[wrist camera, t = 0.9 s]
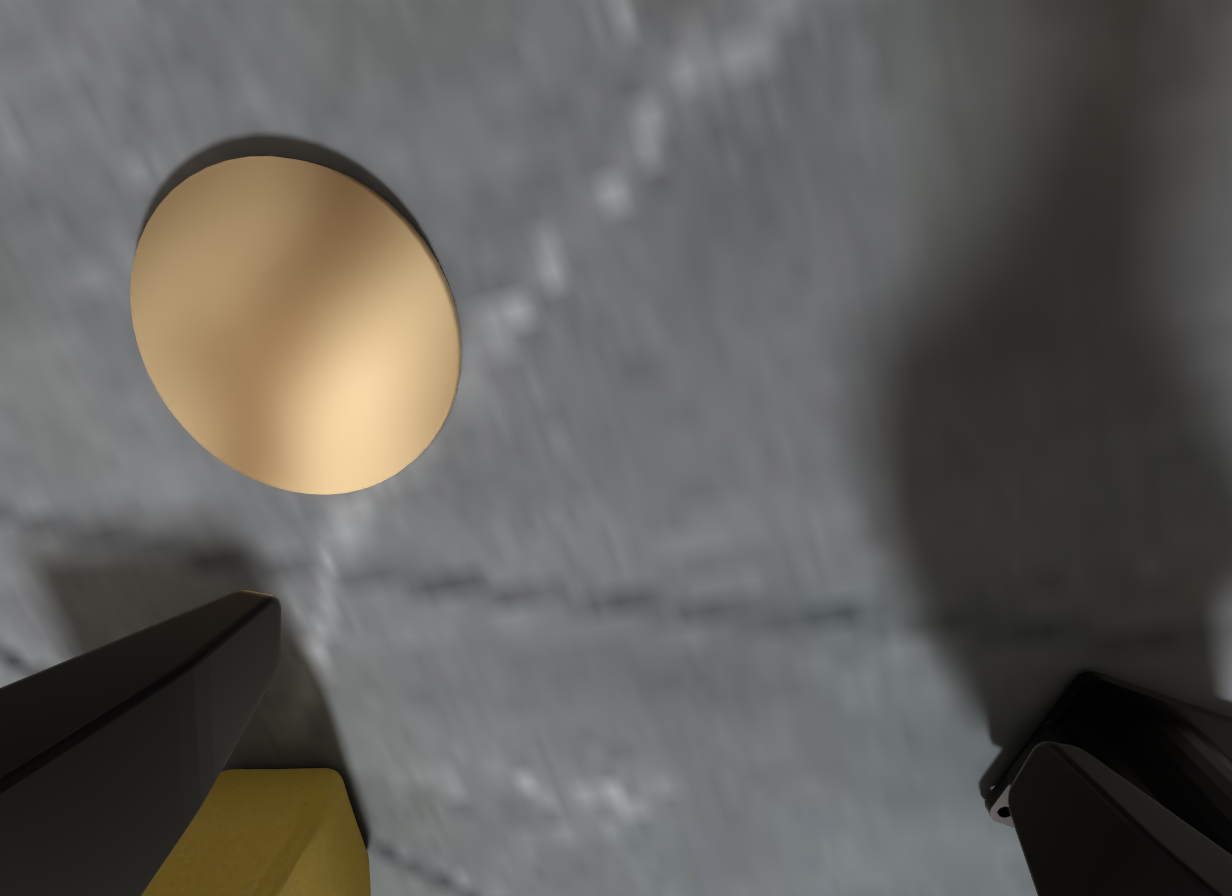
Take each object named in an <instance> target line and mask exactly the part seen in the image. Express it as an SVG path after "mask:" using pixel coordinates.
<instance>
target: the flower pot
mask: <svg viewBox="0 0 1232 896" xmlns="http://www.w3.org/2000/svg"><path fill="white" fill-rule="evenodd" d="M142 896H371V891H370V873H369V858H368V853H367V851H366V848H365V845H364V842H363V839H362V836H361V833H360V830H359V828H358V825H357V822H356V819H355V816H354V813H353V810H352V807H351V804H350V801H349V798H348V795H347V791H346V789H345V785H344V782H343V779H342V777H341V776H340V774H339V773H338V772H337V771H335V770H333V769H329V768H310V769H230V770H226V771H223V772H221V773H220V775H219V777H218V779H217V780H216V782H215V784H214V786H213V788H212V789H211V791H210V793H209V794H208V796H207V798H206V800H205V801H204V803H203V805H202V807H201V808H200V810H199V811H198V813H197V814H196V816H195V817H194V819H193V820H192V822H191V823H190V825H189V827H188V828H187V830H186V831H185V833H184V834H183V836H182V837H181V838H180V840H179V841H178V843H177V844H176V846H175V847H174V849H173V850H172V852H171V853H170V855H169V856H168V857H167V859H166V860H165V862H164V863H163V865H162V866H161V868H160V869H159V871H158V872H157V874H156V875H155V877H154V878H153V879H152V881H151V882H150V884H149V885H148V887H147V888H146V890H145V891H144V893H143V894H142Z"/></svg>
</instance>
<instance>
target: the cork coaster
mask: <svg viewBox="0 0 1232 896" xmlns="http://www.w3.org/2000/svg"><path fill="white" fill-rule="evenodd" d="M131 312H132V320H133V327H134V331H135V335H136V339H137V343H138V347H139V350H140V353H141V356H142V359H143V361H144V364H145V367H146V369H147V371H148V373H149V375H150V377H151V379H152V381H153V383H154V385H155V387H156V389H157V391H158V393H159V394H160V396H161V397H162V399H163V400H164V402H165V404H166V405H167V407H168V408H169V410H170V411H171V412H172V413H173V415H174V416H175V417H176V418H177V420H178V421H179V422H180V424H181V425H182V426H183V427H184V428H185V429H186V430H187V431H188V432H189V433H190V434H191V435H192V436H193V437H194V438H195V439H196V441H198V442H199V443H200V444H201V445H202V446H203V447H205V448H206V449H207V450H208V451H209V452H210V453H212V454H213V455H214V456H216V457H217V458H218V459H220V460H221V461H223V462H224V463H226V464H227V465H229V466H230V467H232V468H233V469H235V470H237V471H239V472H241V473H243V474H245V475H246V476H248V477H250V478H253V479H255V480H257V481H260V482H262V483H265V484H267V485H270V486H274V487H277V488H281V489H284V490H288V491H293V492H300V493H306V494H326V495H327V494H338V493H347V492H352V491H356V490H360V489H364V488H367V487H370V486H372V485H375V484H377V483H380V482H382V481H384V480H386V479H387V478H389V477H391V476H393V475H395V474H396V473H398V472H399V471H400V470H402V469H403V468H404V467H406V466H407V465H408V464H409V463H411V462H412V461H413V460H414V459H416V458H417V457H418V456H419V455H420V454H421V453H422V452H423V451H424V450H425V449H426V448H427V447H428V446H429V444H430V443H431V442H432V441H433V440H434V438H435V437H436V435H437V434H438V433H439V431H440V430H441V428H442V427H443V425H444V423H445V421H446V419H447V417H448V415H449V413H450V411H451V408H452V405H453V402H454V399H455V396H456V393H457V390H458V384H459V379H460V373H461V360H462V344H461V331H460V324H459V320H458V315H457V310H456V305H455V302H454V299H453V296H452V293H451V290H450V288H449V285H448V282H447V280H446V278H445V276H444V274H443V272H442V270H441V267H440V265H439V263H438V261H437V260H436V258H435V257H434V255H433V253H432V252H431V250H430V249H429V247H428V245H427V244H426V242H425V241H424V239H423V238H422V237H421V236H420V234H419V233H418V232H417V231H416V230H415V228H414V227H413V226H412V225H411V223H410V222H409V221H408V220H407V219H406V218H405V217H404V216H403V215H402V214H401V213H400V212H399V211H398V210H397V209H396V208H395V207H394V206H393V205H392V204H390V203H389V202H388V201H386V200H385V199H384V198H383V197H381V196H380V195H379V194H377V193H376V192H375V191H374V190H372V189H370V188H369V187H367V186H365V185H364V184H362V183H360V182H359V181H357V180H355V179H354V178H352V177H350V176H347V175H345V174H343V173H340V172H338V171H336V170H333V169H331V168H328V167H325V166H321V165H318V164H314V163H311V162H307V161H302V160H296V159H289V158H282V157H275V156H249V157H243V158H237V159H231V160H227V161H224V162H221V163H218V164H215V165H212V166H209V167H207V168H205V169H203V170H201V171H199V172H197V173H196V174H194V175H192V176H190V177H188V178H187V179H186V180H185V181H183V182H182V183H181V184H179V185H178V186H177V187H176V188H174V189H173V190H172V191H171V192H170V193H169V194H168V195H167V197H166V198H165V199H164V200H163V201H162V202H161V203H160V204H159V205H158V207H157V209H156V210H155V212H154V213H153V215H152V216H151V218H150V219H149V221H148V222H147V225H146V227H145V229H144V231H143V234H142V236H141V238H140V240H139V243H138V247H137V251H136V254H135V258H134V261H133V269H132V276H131Z"/></svg>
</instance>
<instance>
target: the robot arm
mask: <svg viewBox="0 0 1232 896" xmlns="http://www.w3.org/2000/svg"><path fill="white" fill-rule="evenodd" d="M280 654H281V606H280V602H279V600H278V598H276V597H275V596H273V595H269V594H264V593H259V592H254V591H248V590H239V591H236V592H233V593H230V594H228V595H225V596H223V597H220V598H218V599H216V600H213V601H211V602H208V603H206V604H203V605H201V606H199V607H196V608H194V609H191V610H189V611H186V612H184V613H182V614H179V615H177V616H174V617H172V618H169V619H167V620H165V621H162V622H160V623H157V624H155V625H152V626H150V627H148V628H145V629H143V630H140V631H138V632H135V633H133V634H131V635H128V636H126V637H123V638H121V639H118V640H116V641H113V642H111V643H109V644H106V645H104V646H101V647H99V648H96V649H94V650H92V651H89V652H87V653H84V654H82V655H79V656H77V657H75V658H72V659H70V660H67V661H65V662H62V663H60V664H58V665H55V666H53V667H50V668H48V669H45V670H43V671H41V672H38V673H36V674H33V675H31V676H28V677H26V678H24V679H21V680H19V681H16V682H14V683H11V684H9V685H7V686H4V687H2V688H0V896H142V894H143V893H144V891H145V890H146V888H147V887H148V885H149V884H150V882H151V881H152V879H153V878H154V877H155V875H156V874H157V872H158V871H159V869H160V868H161V866H162V865H163V863H164V862H165V860H166V859H167V857H168V856H169V855H170V853H171V852H172V850H173V849H174V847H175V846H176V844H177V843H178V841H179V840H180V838H181V837H182V836H183V834H184V833H185V831H186V830H187V828H188V827H189V825H190V823H191V822H192V820H193V819H194V817H195V816H196V814H197V813H198V811H199V810H200V808H201V807H202V805H203V803H204V801H205V800H206V798H207V796H208V794H209V793H210V791H211V789H212V788H213V786H214V784H215V782H216V780H217V779H218V777H219V775H220V773H221V771H222V770H223V768H224V766H225V764H226V762H227V760H228V759H229V757H230V755H231V753H232V751H233V750H234V748H235V746H236V744H237V742H238V740H239V739H240V737H241V735H242V733H243V731H244V729H245V728H246V726H247V724H248V722H249V720H250V719H251V717H252V715H253V713H254V711H255V709H256V708H257V706H258V704H259V702H260V700H261V699H262V697H263V695H264V693H265V691H266V689H267V688H268V686H269V684H270V682H271V680H272V678H273V677H274V675H275V672H276V670H277V667H278V664H279V660H280ZM1094 686H1096V687H1095V688H1094V689H1092V690H1089V689H1090V688H1091V687H1094ZM1088 690H1089V691H1088ZM985 806H986V808H987V810H988V812H989V814H990V816H991V817H992V818H993V820H995V821H997V822H999V823H1002V824H1005V825H1008V826H1011V827H1014V828H1015V829H1016V832H1017V835H1018V838H1019V841H1020V844H1021V847H1022V850H1023V853H1024V856H1025V859H1026V862H1027V865H1028V868H1029V871H1030V874H1031V877H1032V880H1033V883H1034V886H1035V889H1036V891H1037V894H1038V896H1232V719H1229V718H1226V717H1223V716H1221V715H1218V714H1215V713H1212V712H1209V711H1206V710H1203V709H1200V708H1198V707H1195V706H1192V705H1189V704H1186V703H1183V702H1180V701H1178V700H1175V699H1172V698H1169V697H1166V696H1163V695H1160V694H1158V693H1155V692H1152V691H1149V690H1146V689H1143V688H1140V687H1138V686H1135V685H1132V684H1129V683H1126V682H1123V681H1120V680H1118V679H1115V678H1112V677H1109V676H1106V675H1103V674H1100V673H1098V672H1092V671H1090V672H1084V673H1082V674H1080V675H1078V676H1077V677H1076V678H1075V679H1074V680H1073V681H1072V683H1071V684H1070V685H1069V687H1068V688H1067V689H1066V691H1065V692H1064V693H1063V695H1062V696H1061V697H1060V699H1059V700H1058V702H1057V703H1056V704H1055V706H1054V707H1053V708H1052V710H1051V711H1050V712H1049V714H1048V715H1047V716H1046V718H1045V719H1044V721H1043V722H1042V723H1041V725H1040V726H1039V727H1038V729H1037V730H1036V731H1035V733H1034V734H1033V735H1032V737H1031V738H1030V740H1029V741H1028V742H1027V744H1026V745H1025V746H1024V748H1023V749H1022V750H1021V752H1020V753H1019V754H1018V756H1017V757H1016V759H1015V760H1014V761H1013V763H1012V764H1011V765H1010V767H1009V768H1008V769H1007V771H1006V772H1005V773H1004V775H1003V776H1002V778H1001V779H1000V780H999V782H998V783H997V784H996V786H995V787H994V788H993V790H992V791H991V792H990V794H989V795H988V797H987V798H986V800H985Z"/></svg>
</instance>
